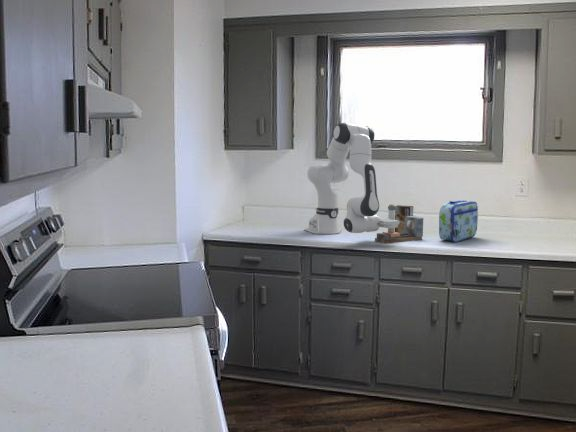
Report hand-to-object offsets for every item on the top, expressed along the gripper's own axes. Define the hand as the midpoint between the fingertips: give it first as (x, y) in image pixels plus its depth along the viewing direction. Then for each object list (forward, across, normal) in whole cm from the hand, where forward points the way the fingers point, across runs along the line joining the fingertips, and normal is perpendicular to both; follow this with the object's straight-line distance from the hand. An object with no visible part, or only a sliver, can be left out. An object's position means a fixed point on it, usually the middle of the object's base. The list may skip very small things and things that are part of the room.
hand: (392, 220), depth 328 cm
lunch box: (+33, -15, +11) cm, 38 cm away
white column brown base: (-1, 0, +8) cm, 8 cm away
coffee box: (+19, +12, +11) cm, 25 cm away
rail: (+5, 0, +10) cm, 11 cm away
